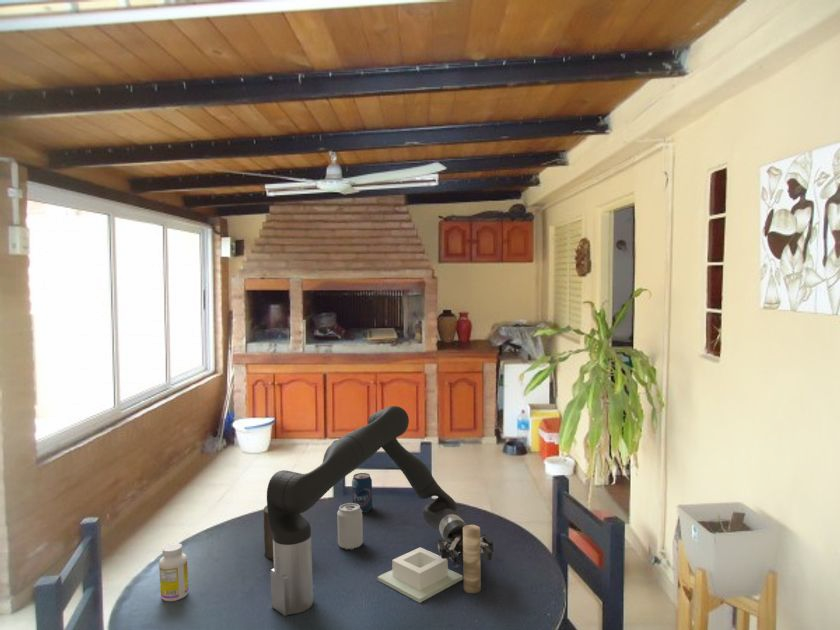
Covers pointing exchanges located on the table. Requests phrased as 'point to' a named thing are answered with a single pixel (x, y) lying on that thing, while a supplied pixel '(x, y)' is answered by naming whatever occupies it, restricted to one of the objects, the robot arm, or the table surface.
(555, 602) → the table surface
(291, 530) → the robot arm
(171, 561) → the supplement bottle
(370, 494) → the soda can
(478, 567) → the peg
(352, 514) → the can
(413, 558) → the socket
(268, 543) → the pillar candle
